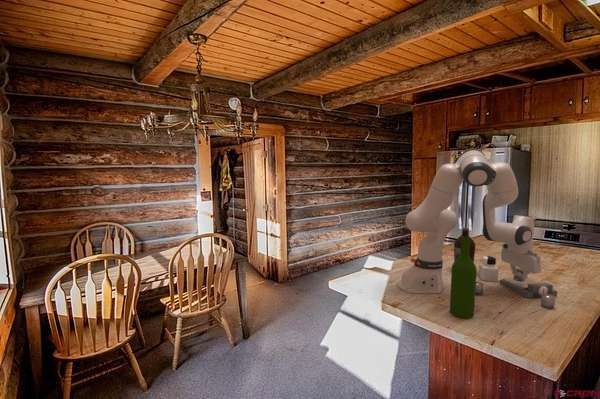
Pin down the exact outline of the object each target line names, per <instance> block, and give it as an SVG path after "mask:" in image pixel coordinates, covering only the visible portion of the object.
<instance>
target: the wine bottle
mask: <svg viewBox="0 0 600 399" xmlns="http://www.w3.org/2000/svg"><path fill="white" fill-rule="evenodd" d="M469 236H470V235H469ZM469 236H462V240H461V254H460V256H459V257H458V258H457V259H456V260H455V262H454V261H453V263H452V266H451V278H450V280H451V281H450V294H449V296H450V298H449V299H450V300H449V313H450V314H451V315H452V316H453V317H455V318H459V319H465V320H469V319H473V318H474V316H475V305H476V304H475V303H476V295H475V289H476V282H477V273H478V272H477V270H478V269H477V266H476V264H475V263H473V261H472V259H471V258H470V256H469V248H470V237H471V236H470V237H469Z"/></svg>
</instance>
